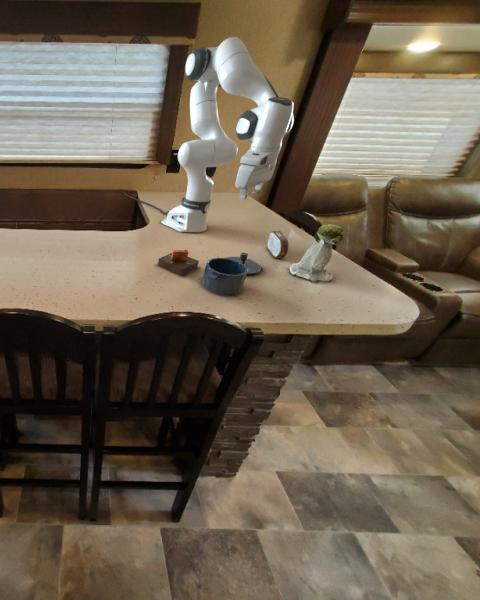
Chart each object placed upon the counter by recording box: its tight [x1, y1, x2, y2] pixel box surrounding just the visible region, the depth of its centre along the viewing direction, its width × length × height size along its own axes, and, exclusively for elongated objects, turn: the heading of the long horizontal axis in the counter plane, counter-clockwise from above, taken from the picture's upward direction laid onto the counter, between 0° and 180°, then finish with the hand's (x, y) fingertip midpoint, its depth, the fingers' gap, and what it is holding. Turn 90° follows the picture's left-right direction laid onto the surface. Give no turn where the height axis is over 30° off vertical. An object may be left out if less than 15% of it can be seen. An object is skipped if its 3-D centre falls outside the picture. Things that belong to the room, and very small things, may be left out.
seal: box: [171, 249, 189, 261], centre depth 110 cm, size 6×2×4 cm, turn 84°
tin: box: [266, 230, 289, 259], centre depth 119 cm, size 15×3×8 cm, turn 168°
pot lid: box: [226, 252, 262, 276], centre depth 111 cm, size 14×14×6 cm
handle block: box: [157, 252, 200, 277], centre depth 112 cm, size 11×10×3 cm
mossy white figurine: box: [289, 223, 345, 283], centre depth 102 cm, size 12×13×18 cm
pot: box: [201, 257, 248, 296], centre depth 99 cm, size 13×18×8 cm
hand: (248, 197), depth 107 cm, fingers open, 8 cm apart
